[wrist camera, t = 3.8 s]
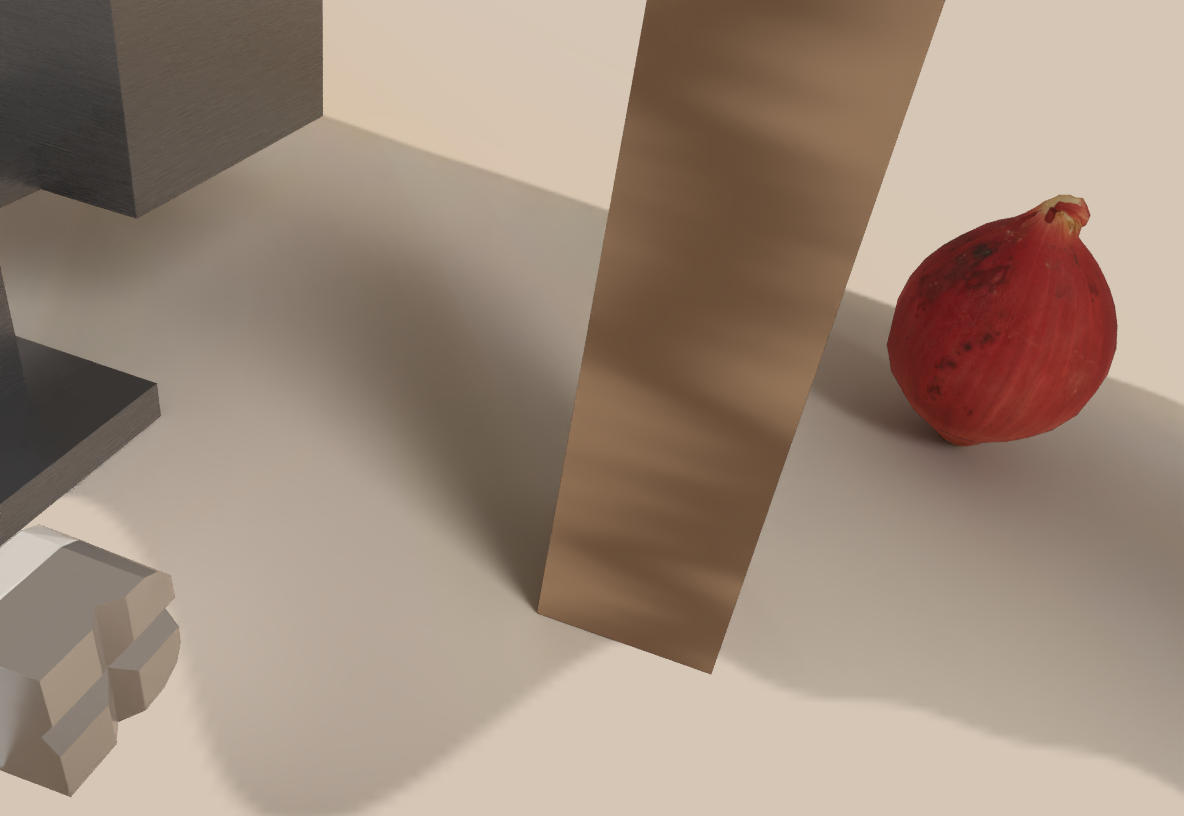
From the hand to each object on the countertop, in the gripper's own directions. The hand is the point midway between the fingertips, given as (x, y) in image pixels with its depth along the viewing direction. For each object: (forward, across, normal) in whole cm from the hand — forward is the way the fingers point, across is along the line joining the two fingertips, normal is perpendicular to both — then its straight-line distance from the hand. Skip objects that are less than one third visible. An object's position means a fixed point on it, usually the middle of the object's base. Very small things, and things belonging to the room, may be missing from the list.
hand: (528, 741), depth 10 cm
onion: (+21, -7, +8) cm, 23 cm away
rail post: (+11, 0, +8) cm, 13 cm away
